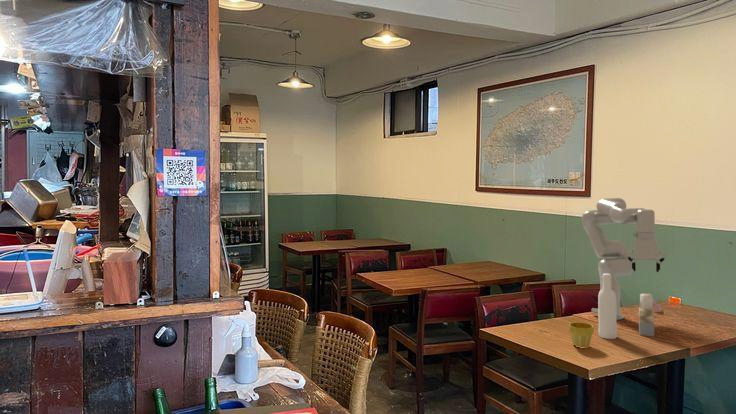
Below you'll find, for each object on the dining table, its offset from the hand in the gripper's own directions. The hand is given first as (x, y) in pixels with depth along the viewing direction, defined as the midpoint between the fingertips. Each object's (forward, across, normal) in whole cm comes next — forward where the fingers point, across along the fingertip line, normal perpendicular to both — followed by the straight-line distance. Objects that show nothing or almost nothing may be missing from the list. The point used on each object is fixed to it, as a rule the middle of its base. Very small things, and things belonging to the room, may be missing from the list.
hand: (645, 271), depth 241 cm
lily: (+31, +7, +45) cm, 55 cm away
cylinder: (+18, 0, 0) cm, 18 cm away
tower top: (+24, 0, 0) cm, 24 cm away
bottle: (+30, -17, -10) cm, 36 cm away
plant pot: (+30, -28, -28) cm, 50 cm away
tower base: (+30, 0, 0) cm, 30 cm away
